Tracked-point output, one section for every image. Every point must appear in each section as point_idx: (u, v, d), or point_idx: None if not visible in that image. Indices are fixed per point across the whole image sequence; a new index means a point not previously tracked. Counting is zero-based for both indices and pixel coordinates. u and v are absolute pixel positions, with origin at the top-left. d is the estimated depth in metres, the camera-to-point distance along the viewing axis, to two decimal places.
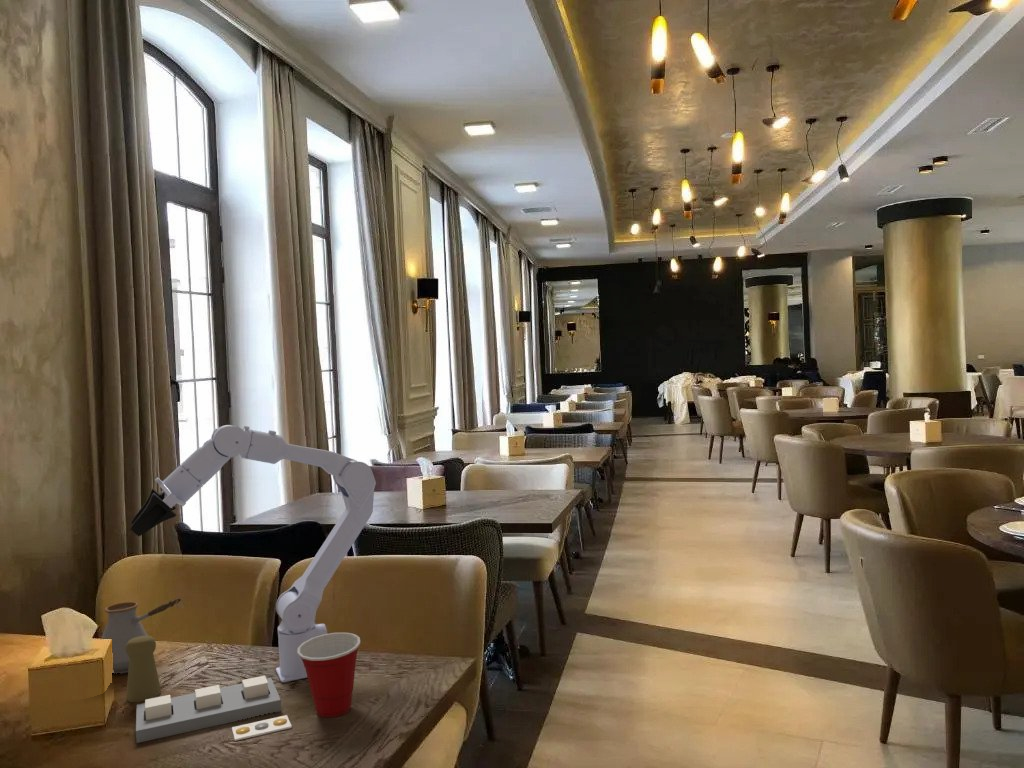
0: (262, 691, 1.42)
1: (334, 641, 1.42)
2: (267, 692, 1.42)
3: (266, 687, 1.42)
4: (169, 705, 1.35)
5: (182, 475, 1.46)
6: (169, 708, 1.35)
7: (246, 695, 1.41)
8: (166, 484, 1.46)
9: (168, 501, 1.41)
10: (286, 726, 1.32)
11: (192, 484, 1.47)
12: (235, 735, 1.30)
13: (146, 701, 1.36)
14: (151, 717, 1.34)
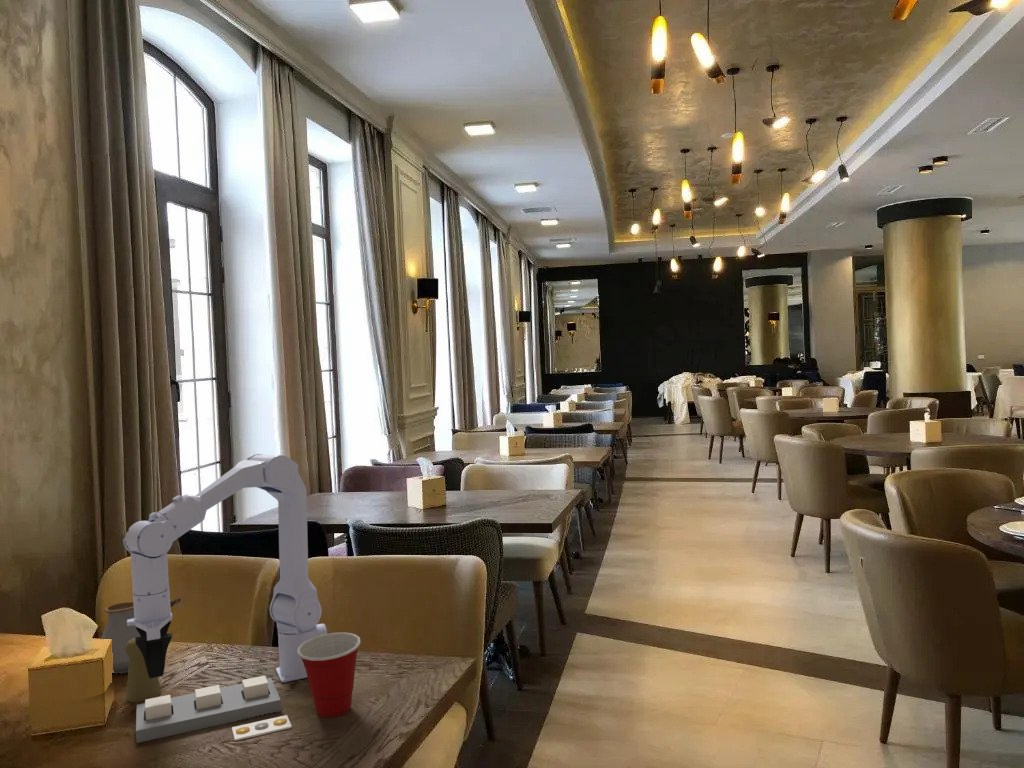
0: (262, 691, 1.42)
1: (334, 641, 1.42)
2: (267, 692, 1.42)
3: (266, 687, 1.42)
4: (169, 705, 1.35)
5: (142, 602, 1.33)
6: (169, 708, 1.35)
7: (246, 695, 1.41)
8: (138, 620, 1.34)
9: (152, 636, 1.30)
10: (286, 726, 1.32)
11: (158, 599, 1.34)
12: (235, 735, 1.30)
13: (146, 701, 1.36)
14: (151, 717, 1.34)
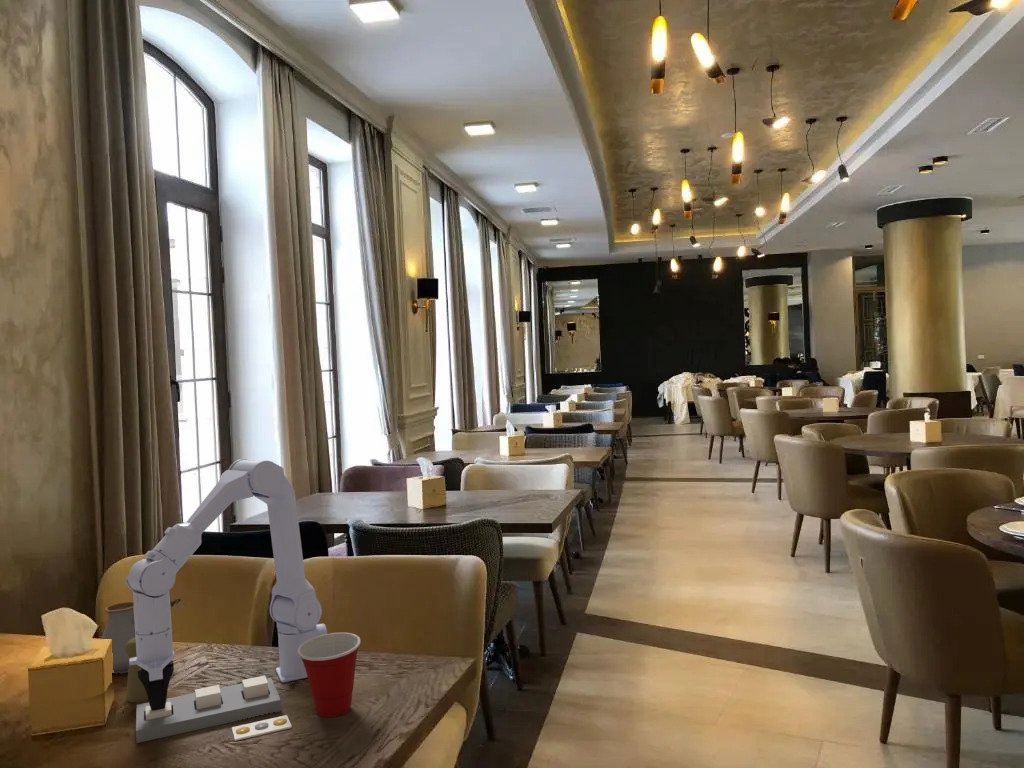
0: (262, 691, 1.42)
1: (334, 641, 1.42)
2: (267, 692, 1.42)
3: (266, 687, 1.42)
4: (170, 712, 1.35)
5: (144, 641, 1.33)
6: None
7: (246, 695, 1.41)
8: (141, 659, 1.34)
9: (154, 676, 1.30)
10: (286, 726, 1.32)
11: (160, 639, 1.34)
12: (235, 735, 1.30)
13: (146, 708, 1.37)
14: None
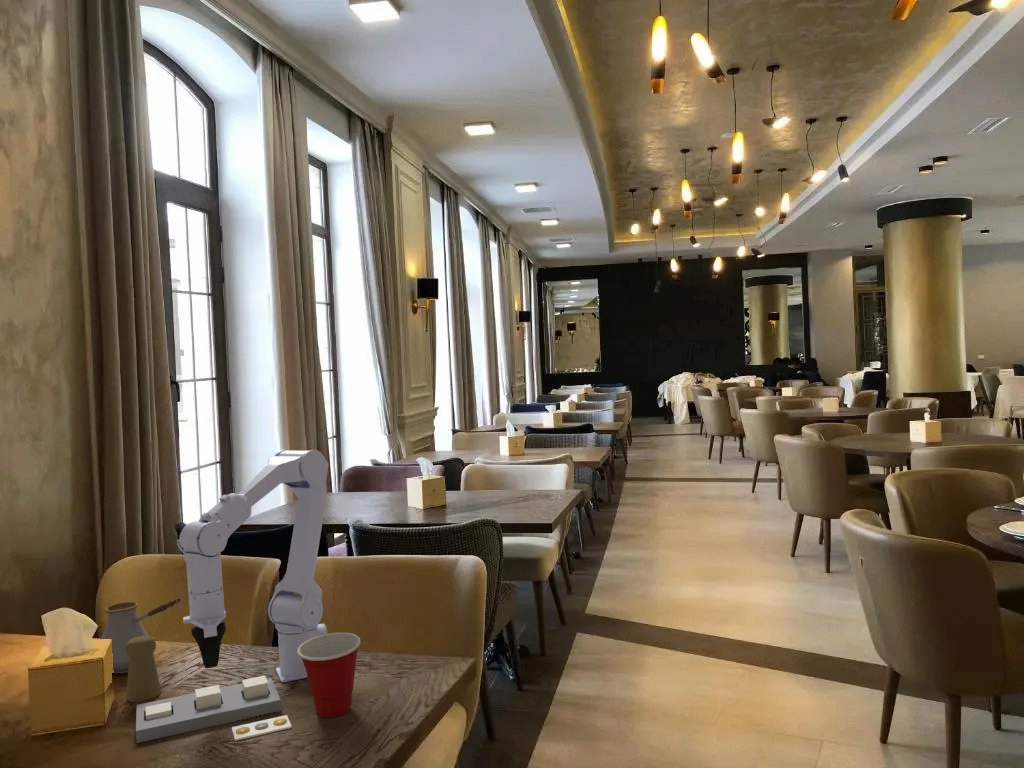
0: (262, 691, 1.42)
1: (334, 641, 1.42)
2: (267, 692, 1.42)
3: (266, 687, 1.42)
4: (170, 713, 1.35)
5: (198, 600, 1.37)
6: None
7: (246, 695, 1.41)
8: (194, 618, 1.37)
9: (209, 633, 1.33)
10: (286, 726, 1.32)
11: (213, 598, 1.38)
12: (235, 735, 1.30)
13: (146, 708, 1.37)
14: None
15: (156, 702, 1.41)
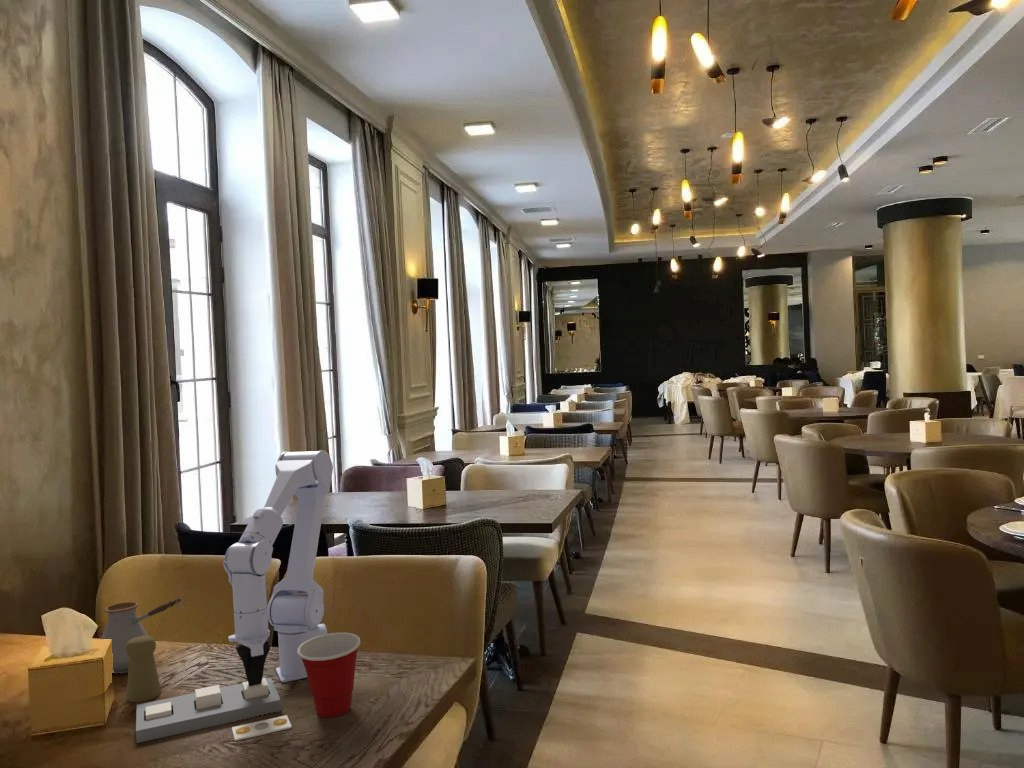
0: (262, 694, 1.42)
1: (334, 641, 1.42)
2: (267, 694, 1.42)
3: (266, 689, 1.42)
4: (170, 713, 1.35)
5: (244, 620, 1.40)
6: None
7: (246, 697, 1.41)
8: (240, 636, 1.40)
9: (256, 652, 1.36)
10: (286, 726, 1.32)
11: (258, 617, 1.41)
12: (235, 735, 1.30)
13: (146, 708, 1.37)
14: None
15: (156, 702, 1.41)
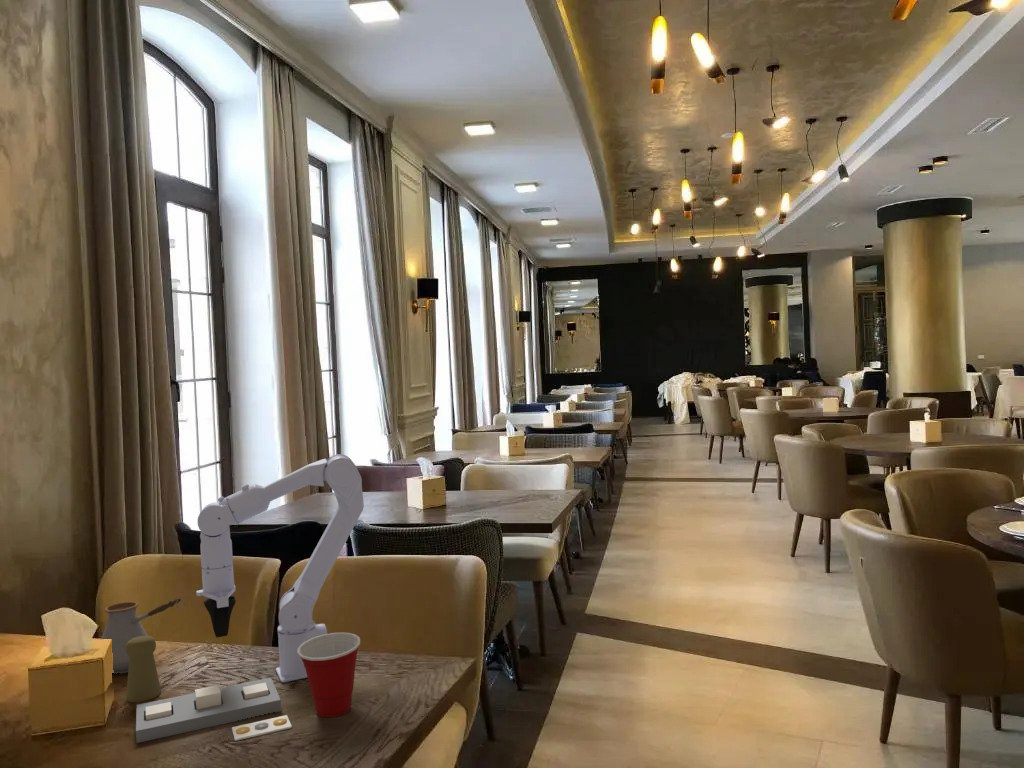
0: None
1: (334, 641, 1.42)
2: None
3: (266, 694, 1.42)
4: (170, 713, 1.35)
5: (211, 575, 1.50)
6: None
7: None
8: (207, 591, 1.50)
9: (221, 604, 1.46)
10: (286, 726, 1.32)
11: (224, 573, 1.51)
12: (235, 735, 1.30)
13: (146, 708, 1.37)
14: None
15: (156, 702, 1.41)
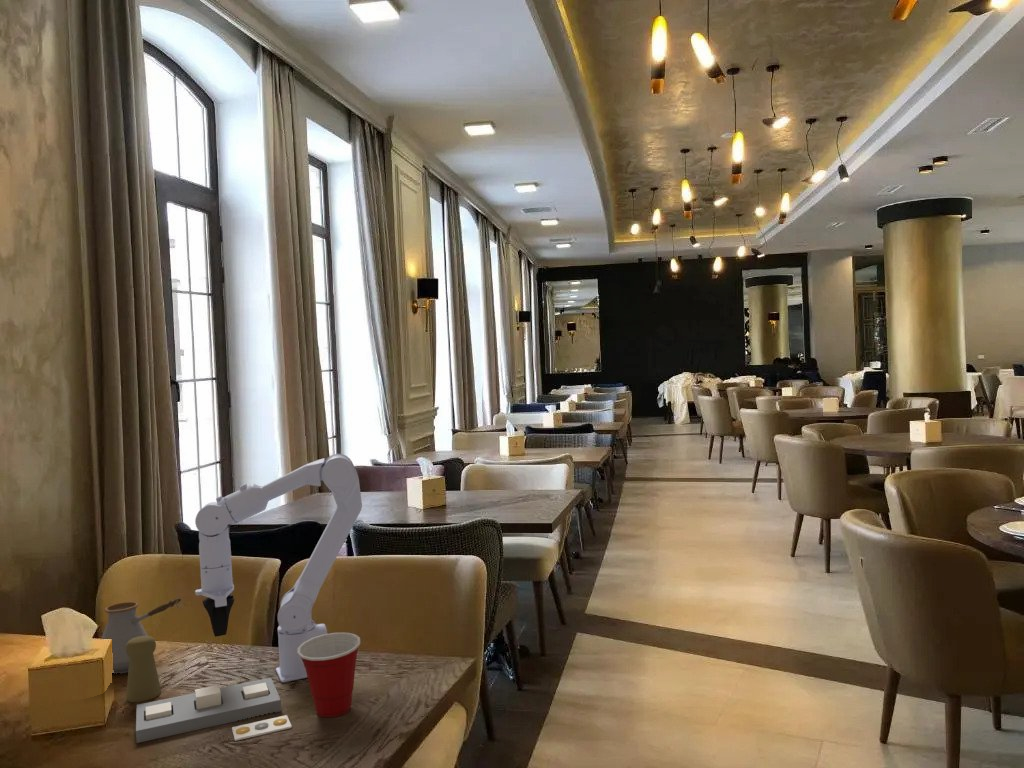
0: None
1: (334, 641, 1.42)
2: None
3: (266, 694, 1.42)
4: (170, 713, 1.35)
5: (209, 574, 1.51)
6: None
7: None
8: (206, 590, 1.51)
9: (219, 603, 1.47)
10: (286, 726, 1.32)
11: (223, 572, 1.52)
12: (235, 735, 1.30)
13: (146, 708, 1.37)
14: None
15: (156, 702, 1.41)
